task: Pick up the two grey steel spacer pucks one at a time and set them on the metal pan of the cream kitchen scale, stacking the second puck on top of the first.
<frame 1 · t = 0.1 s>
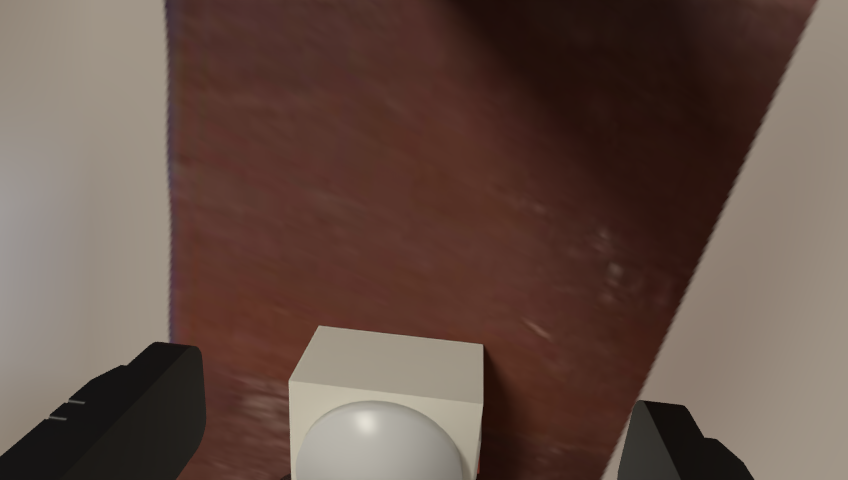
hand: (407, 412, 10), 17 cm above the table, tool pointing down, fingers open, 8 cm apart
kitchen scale: (395, 402, 31), on the table
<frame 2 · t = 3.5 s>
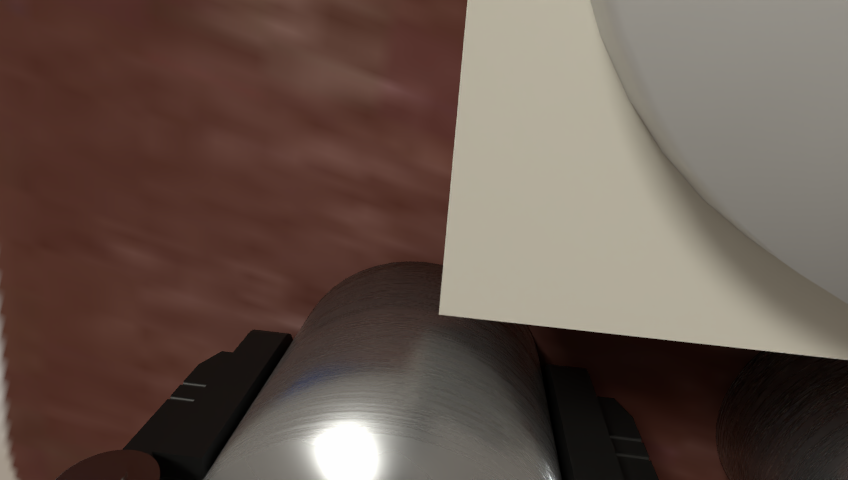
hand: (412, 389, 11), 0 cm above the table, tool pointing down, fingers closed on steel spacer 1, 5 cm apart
steel spacer 1: (416, 375, 11), on the table, touching gripper
when the fingers open (7 cm above the table, at t = 8.6 s): steel spacer 1 drops 1 cm, resting on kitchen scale.
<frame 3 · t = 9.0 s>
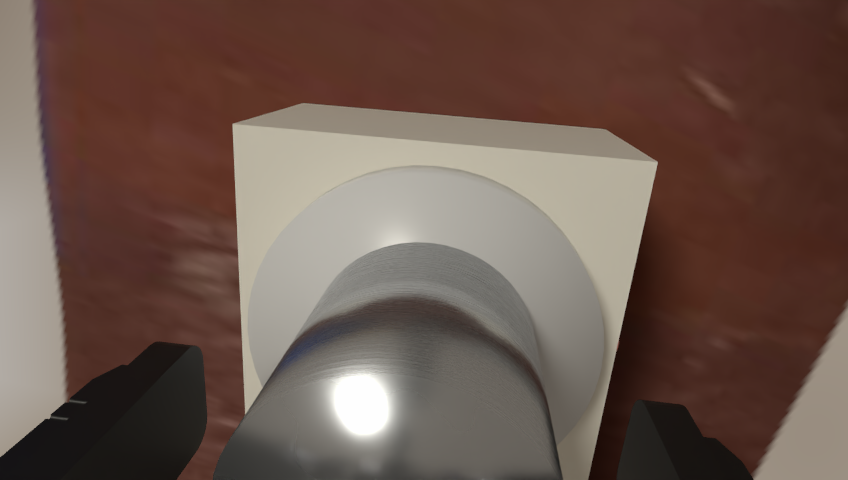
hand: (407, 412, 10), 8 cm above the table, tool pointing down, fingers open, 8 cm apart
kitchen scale: (438, 256, 18), on the table
steel spacer 1: (422, 347, 12), point 6 cm above the table, touching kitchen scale
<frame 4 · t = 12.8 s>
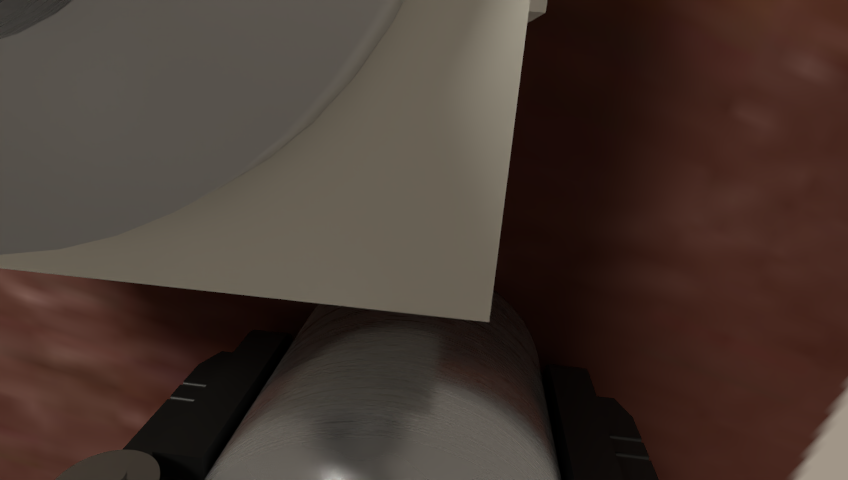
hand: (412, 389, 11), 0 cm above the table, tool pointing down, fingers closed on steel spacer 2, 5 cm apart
steel spacer 2: (416, 376, 11), on the table, touching gripper
when the fingers open (12 cm above the table, at t = 16.4 s): steel spacer 2 drops 1 cm, resting on steel spacer 1.
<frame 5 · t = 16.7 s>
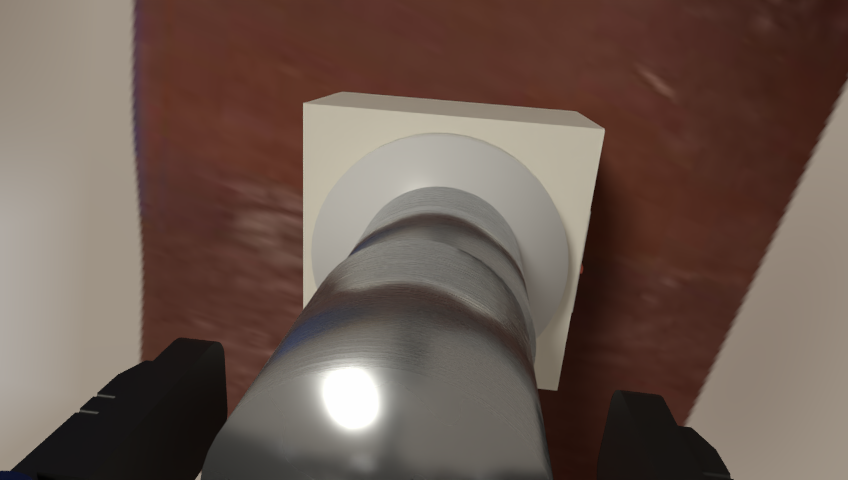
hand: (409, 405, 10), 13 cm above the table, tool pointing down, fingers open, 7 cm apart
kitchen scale: (447, 213, 22), on the table
steel spacer 1: (438, 264, 17), point 6 cm above the table, touching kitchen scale, steel spacer 2
steel spacer 2: (415, 344, 12), point 11 cm above the table, touching steel spacer 1
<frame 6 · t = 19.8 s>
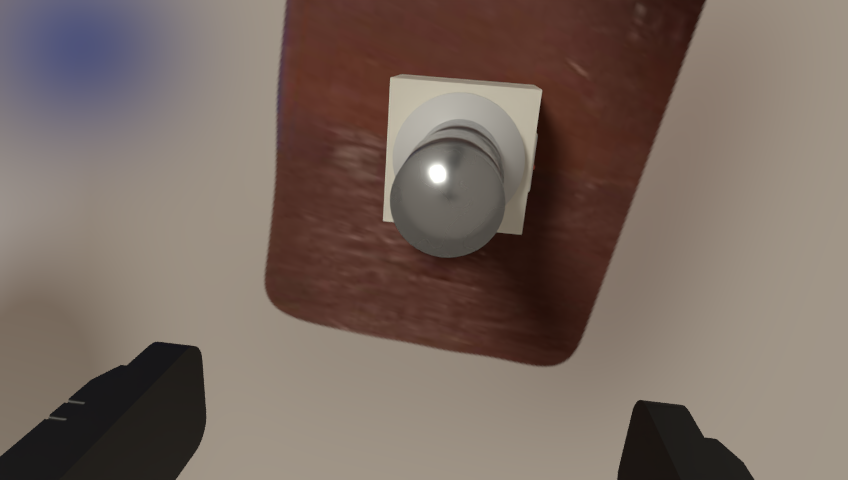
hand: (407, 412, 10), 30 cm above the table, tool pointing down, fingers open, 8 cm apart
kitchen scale: (461, 145, 38), on the table
steel spacer 1: (458, 161, 33), point 6 cm above the table, touching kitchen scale, steel spacer 2
steel spacer 2: (452, 178, 28), point 11 cm above the table, touching steel spacer 1
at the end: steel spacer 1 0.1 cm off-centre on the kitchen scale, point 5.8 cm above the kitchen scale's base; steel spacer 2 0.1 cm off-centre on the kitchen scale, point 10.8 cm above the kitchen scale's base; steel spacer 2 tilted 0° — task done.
